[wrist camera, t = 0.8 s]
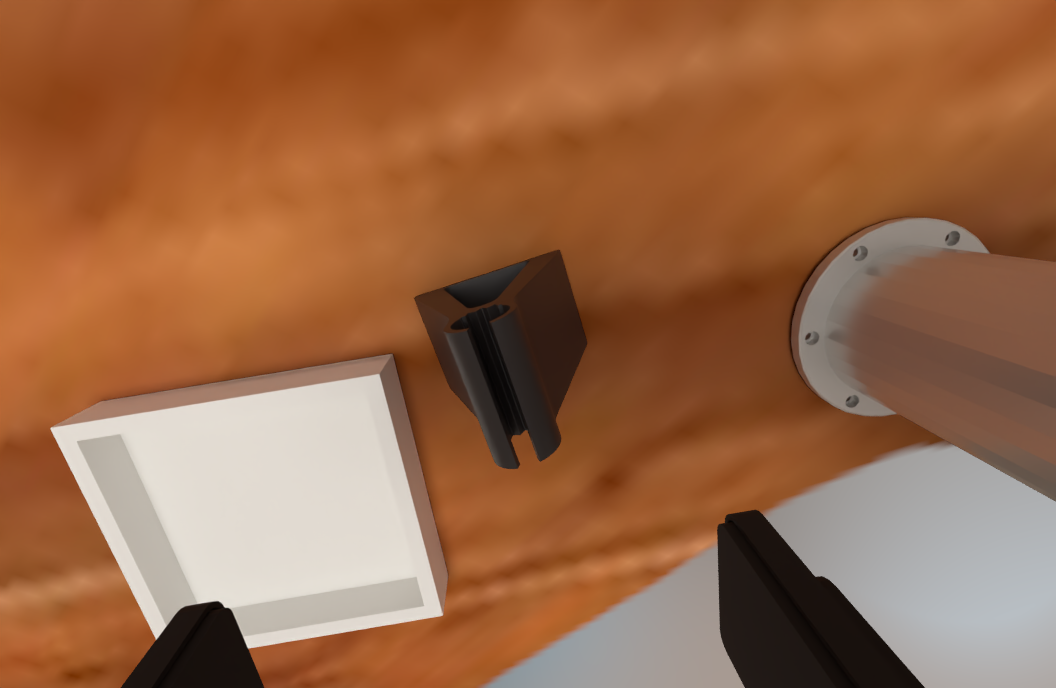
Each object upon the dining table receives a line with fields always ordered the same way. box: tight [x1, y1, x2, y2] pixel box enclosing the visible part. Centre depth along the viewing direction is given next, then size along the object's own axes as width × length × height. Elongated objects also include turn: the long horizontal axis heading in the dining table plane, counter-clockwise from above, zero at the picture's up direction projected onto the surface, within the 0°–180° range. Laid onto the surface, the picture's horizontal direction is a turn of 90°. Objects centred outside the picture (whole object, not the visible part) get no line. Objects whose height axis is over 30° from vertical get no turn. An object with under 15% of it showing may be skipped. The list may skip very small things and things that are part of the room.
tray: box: [50, 354, 448, 648], centre depth 31 cm, size 18×17×4 cm
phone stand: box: [414, 250, 587, 469], centre depth 24 cm, size 9×6×12 cm, turn 107°
